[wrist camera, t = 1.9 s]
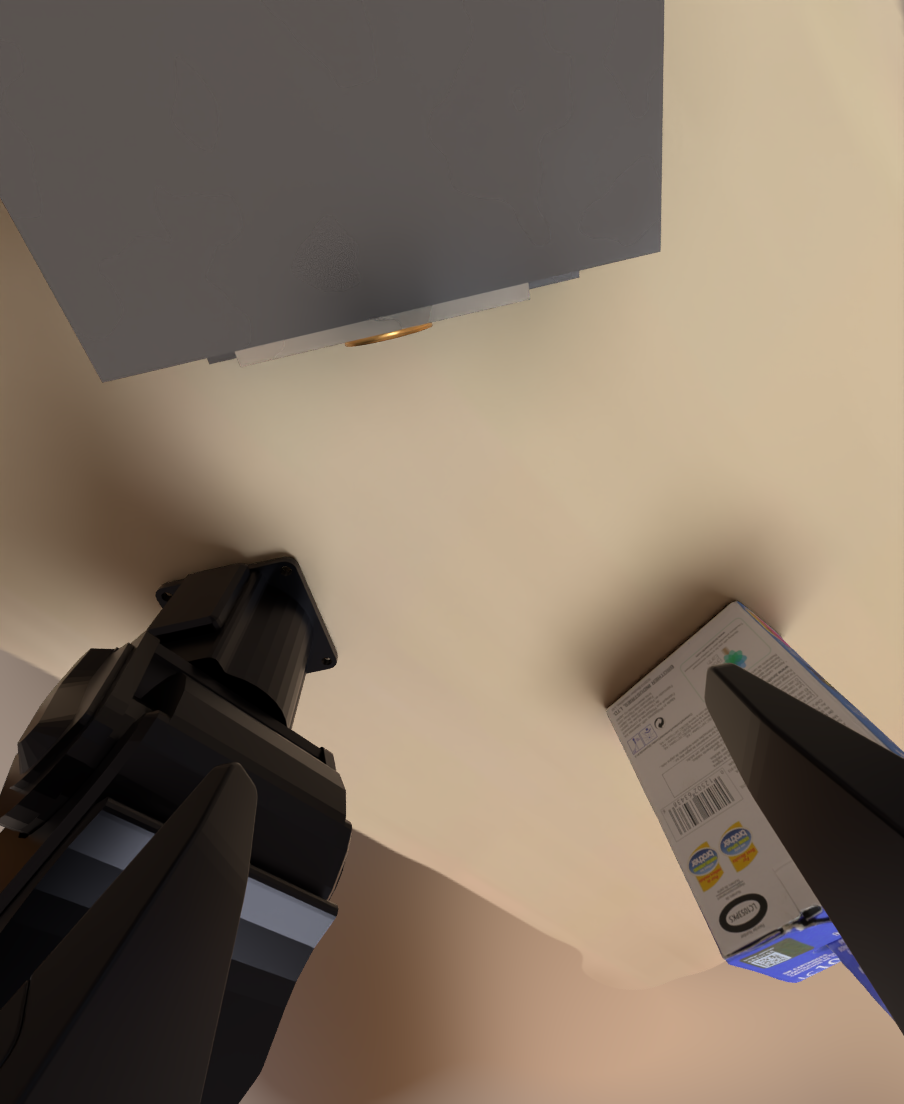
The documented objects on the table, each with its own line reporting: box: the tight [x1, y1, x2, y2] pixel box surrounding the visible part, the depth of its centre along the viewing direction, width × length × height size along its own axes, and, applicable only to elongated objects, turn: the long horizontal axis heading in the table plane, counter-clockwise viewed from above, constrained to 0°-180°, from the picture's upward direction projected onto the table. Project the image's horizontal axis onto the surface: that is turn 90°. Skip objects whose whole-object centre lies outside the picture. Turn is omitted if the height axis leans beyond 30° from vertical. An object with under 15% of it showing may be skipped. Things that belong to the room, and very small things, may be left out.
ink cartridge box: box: [606, 601, 904, 1020], centre depth 21 cm, size 10×6×14 cm, turn 143°
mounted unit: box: [0, 0, 664, 383], centre depth 11 cm, size 9×13×8 cm
